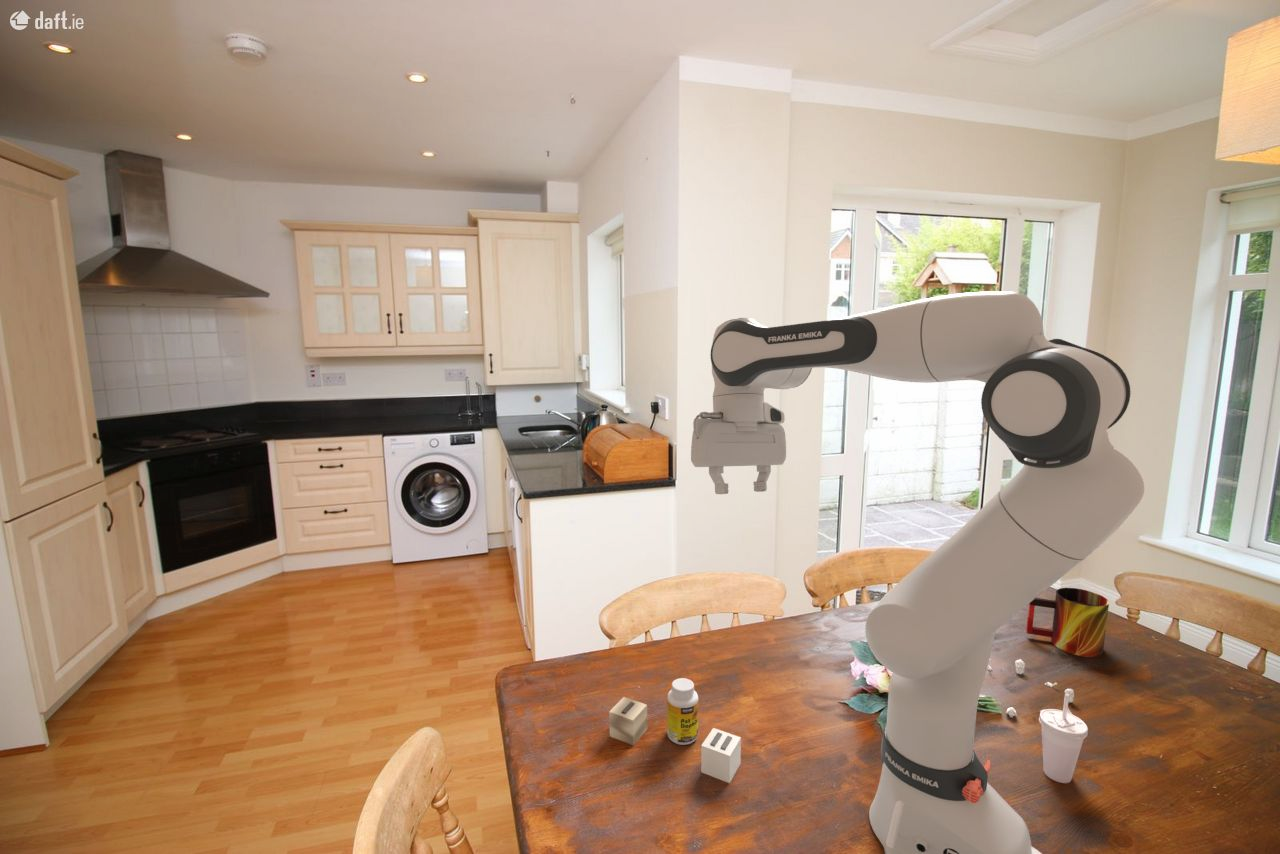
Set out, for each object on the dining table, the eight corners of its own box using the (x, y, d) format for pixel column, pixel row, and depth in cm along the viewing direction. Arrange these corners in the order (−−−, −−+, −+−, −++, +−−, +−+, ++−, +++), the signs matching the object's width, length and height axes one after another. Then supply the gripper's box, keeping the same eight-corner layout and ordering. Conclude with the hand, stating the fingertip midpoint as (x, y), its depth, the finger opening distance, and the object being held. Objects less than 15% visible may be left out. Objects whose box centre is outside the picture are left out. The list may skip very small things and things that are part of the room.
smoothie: (1085, 774, 96) (1094, 696, 94) (1077, 796, 91) (1087, 714, 89) (1039, 754, 100) (1047, 679, 98) (1029, 774, 96) (1037, 696, 94)
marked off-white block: (740, 764, 99) (740, 736, 98) (729, 783, 95) (729, 754, 94) (713, 754, 102) (713, 726, 101) (701, 772, 97) (701, 744, 96)
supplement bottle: (679, 751, 102) (679, 697, 101) (661, 733, 107) (660, 681, 105) (704, 738, 105) (704, 686, 104) (685, 722, 110) (685, 671, 108)
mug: (1023, 636, 139) (1028, 588, 137) (1080, 634, 140) (1085, 587, 138) (1053, 658, 130) (1059, 607, 128) (1114, 656, 130) (1120, 606, 128)
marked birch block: (647, 729, 108) (646, 703, 107) (633, 746, 104) (633, 719, 103) (624, 721, 110) (623, 695, 110) (609, 736, 106) (609, 710, 105)
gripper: (706, 409, 94) (709, 496, 93) (790, 413, 106) (794, 490, 105) (681, 412, 99) (683, 495, 98) (764, 416, 111) (767, 489, 110)
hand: (741, 492), depth 102 cm, fingers open, 8 cm apart
